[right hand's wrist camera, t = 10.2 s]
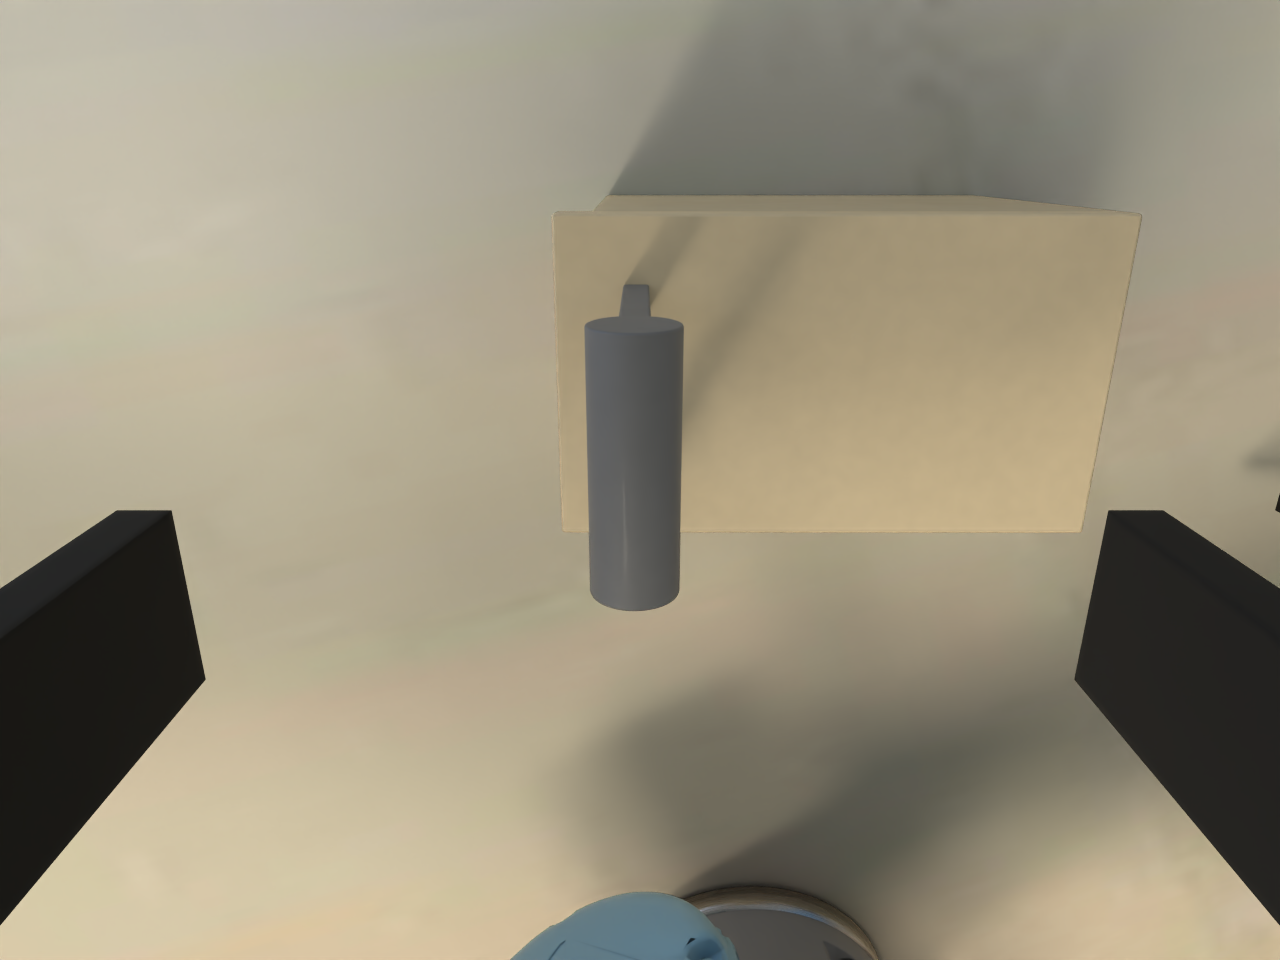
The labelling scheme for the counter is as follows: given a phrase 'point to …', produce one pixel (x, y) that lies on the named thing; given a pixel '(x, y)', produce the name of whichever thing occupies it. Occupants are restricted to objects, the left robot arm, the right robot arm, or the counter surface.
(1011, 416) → the lid
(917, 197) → the chest
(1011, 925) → the counter surface
